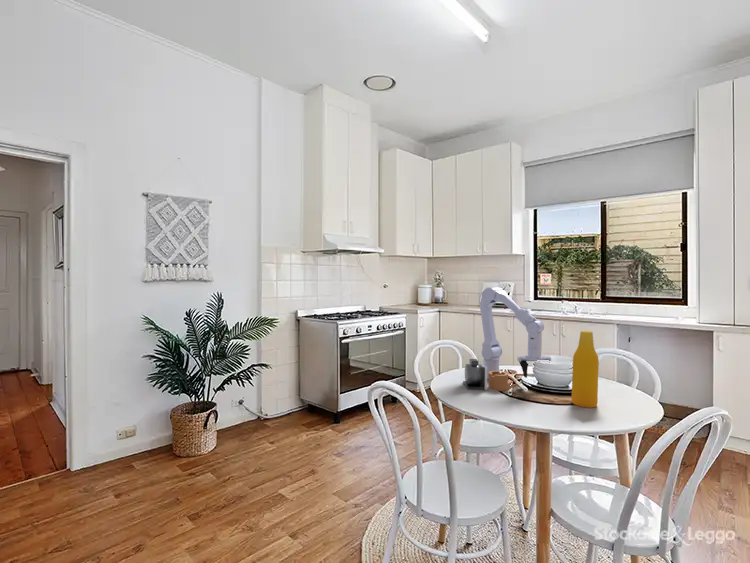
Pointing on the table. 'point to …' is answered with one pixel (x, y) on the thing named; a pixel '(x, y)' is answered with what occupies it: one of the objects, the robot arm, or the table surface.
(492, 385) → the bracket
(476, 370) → the motor
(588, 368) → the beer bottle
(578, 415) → the table surface
